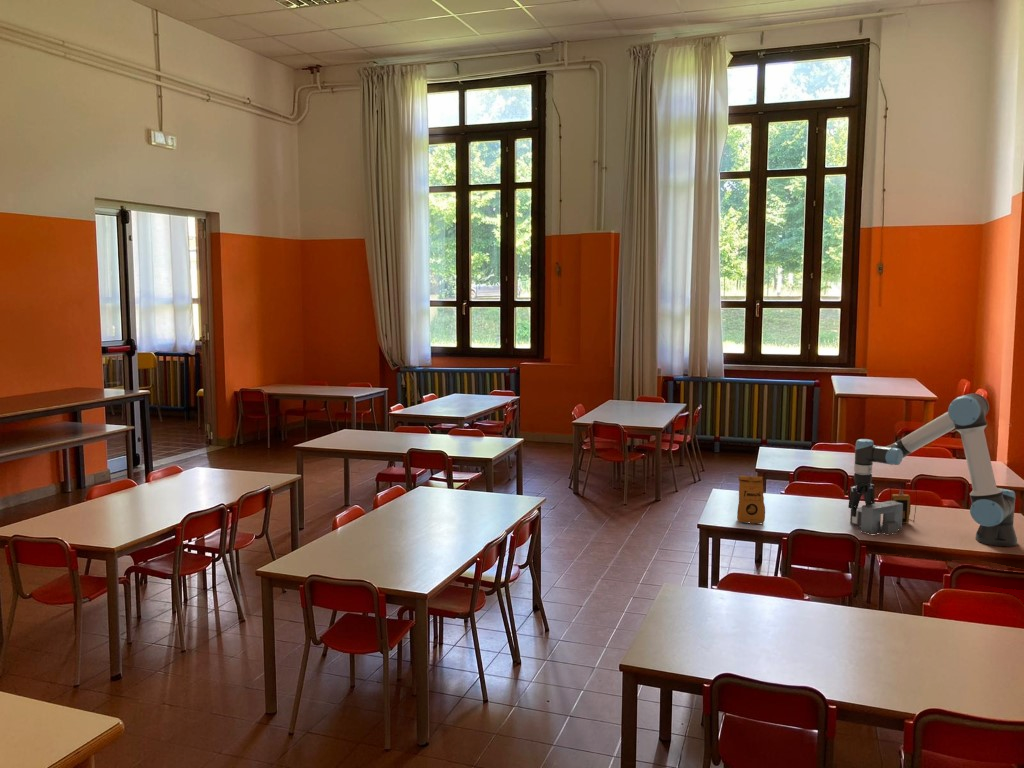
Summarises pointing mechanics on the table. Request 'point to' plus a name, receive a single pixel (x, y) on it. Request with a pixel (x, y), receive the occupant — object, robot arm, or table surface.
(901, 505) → the housing
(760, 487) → the coffee package
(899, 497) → the multimeter
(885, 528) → the plug
